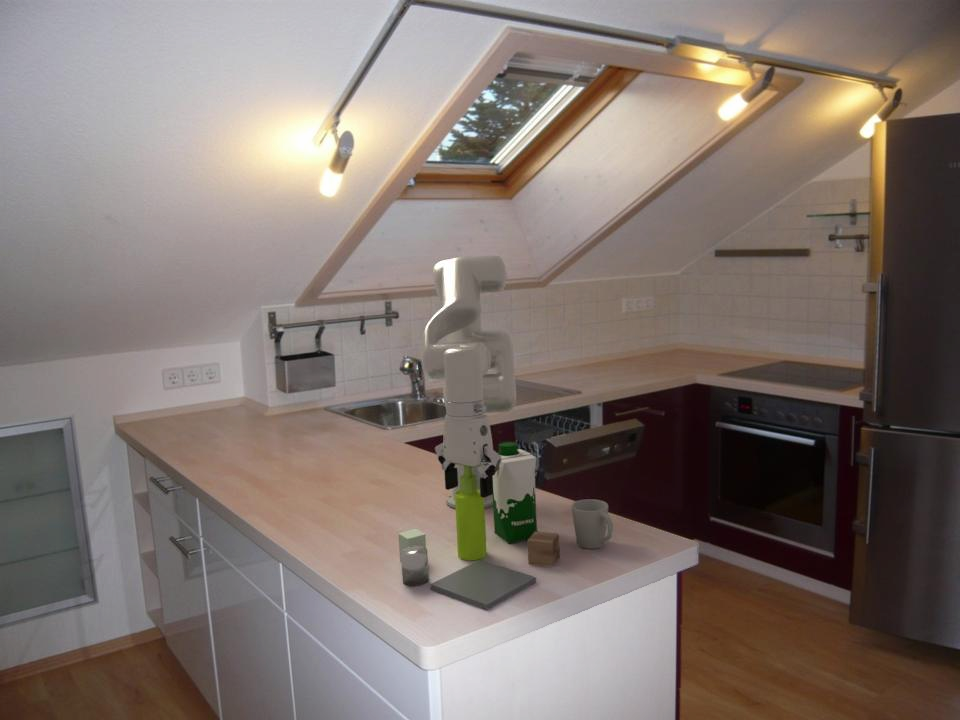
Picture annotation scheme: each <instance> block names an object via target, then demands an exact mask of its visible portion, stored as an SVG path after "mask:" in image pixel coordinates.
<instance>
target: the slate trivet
mask: <svg viewBox="0 0 960 720" xmlns="http://www.w3.org/2000/svg"><path fill="white" fill-rule="evenodd" d="M535 583H537V576H534V575H530V574H528V573H524V572H522V571H518V570H514V569H511V568H508V567H504V566H501V565H499V564H496V563H492V562H489V561H486V560H484V559H483V560H482V559H479V560H476V561H475V562H473V563H471V564H468V565H466V566H465V567H462V568H460V569H458V570H457V571H454V572H452V573H450V574H448V575H446V576H444V577H442V578H440V579H438V580H436V581H434V582H432V583H430V584H429V585H430V586H429V587H430V590H431V591H435V592H437V593H440V594H442V595H445V596H448V597H450V598H453V599H455V600H459V601H462V602H464V603H467V604H470V605H472V606H475V607H478V608H480V609H483V610H486V611H488V610H489V609H491V608H493V607H495V606H497V605H498V604H500V603H501V602H503V601H506V600H508V599H509V598H511V597H513V596H514V595H516V594H518V593H521V591H523V590H525V589H527V588H528V587H530V586H532V585H534V584H535Z"/></svg>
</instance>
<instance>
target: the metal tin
mask: <svg viewBox="0 0 960 720" xmlns="http://www.w3.org/2000/svg"><path fill="white" fill-rule="evenodd" d="M401 561H402V562H401V576H402V583H403V585H404V586H407V587H421V586H424V585H427V583H429V580H430V578H429V577H430V576H429V575H430V573H429V559H428V549H427V547H426V548H425V547H422V546H411V547H407V548H404V549H403V550H402V551H401Z"/></svg>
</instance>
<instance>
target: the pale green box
mask: <svg viewBox="0 0 960 720" xmlns="http://www.w3.org/2000/svg"><path fill="white" fill-rule="evenodd" d="M411 546H422V547H425V548H426V549H427V539H426V533H425V532H422V531H420V530H419V529H417V528H413V529H410V530H406V531H402V532H399V533H398V547H399V548H398V549H399V562H401V563H402V561H401V551H402V550H403V549H404V548H407V547H411Z"/></svg>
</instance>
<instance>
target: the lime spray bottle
mask: <svg viewBox="0 0 960 720" xmlns="http://www.w3.org/2000/svg"><path fill="white" fill-rule="evenodd" d="M463 466H464V465H463ZM460 484H461V491H458V492H456V493H455V507H456V508H455V521H456V542H457V543H456V544H457V556H458V558H459V559H460V560H462V561H463V560H464V561H479V560H482V559H484V558H485V557H486V556H487V536H486V535H487V533H486V515H485V514H486V513H485V509H486V508H484V498H483V497H481V495H480V490H477V476H476V475H474V474H472V467H469V466H464V475H463V476H461V477H460Z"/></svg>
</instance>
